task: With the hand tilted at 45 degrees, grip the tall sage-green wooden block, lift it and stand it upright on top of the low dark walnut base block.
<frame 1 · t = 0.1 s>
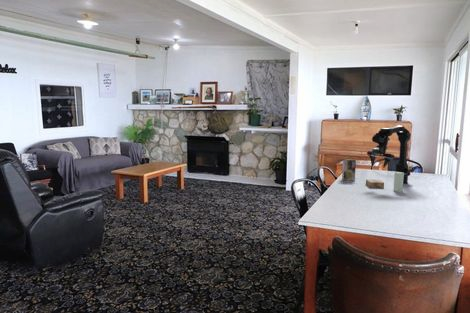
hand: (377, 166, 262), 15 cm above the table, tool pointing down, fingers open, 9 cm apart
sage block: (397, 191, 256), on the table
walnut base block: (374, 186, 270), on the table
coffee box: (348, 179, 292), on the table
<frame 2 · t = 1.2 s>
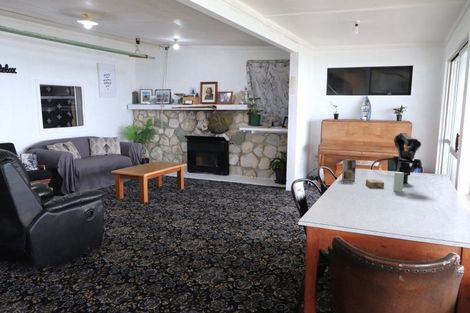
hand: (402, 170, 260), 13 cm above the table, tool tilted 45°, fingers open, 9 cm apart
nothing on the table moved.
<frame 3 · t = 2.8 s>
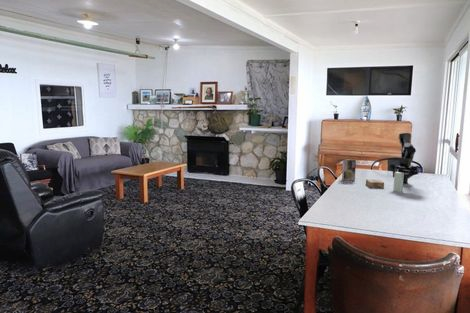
hand: (399, 178, 256), 9 cm above the table, tool tilted 45°, fingers open, 9 cm apart
nothing on the table moved.
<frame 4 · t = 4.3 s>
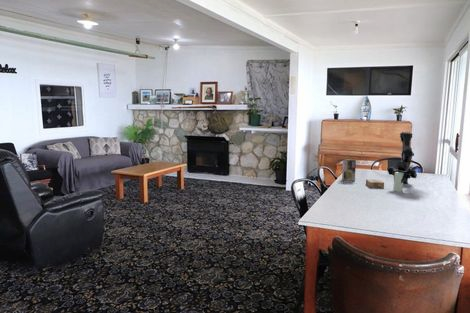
hand: (397, 182, 254), 7 cm above the table, tool tilted 45°, fingers closed on sage block, 4 cm apart
sage block: (397, 191, 256), on the table, touching gripper
everything else where it was.
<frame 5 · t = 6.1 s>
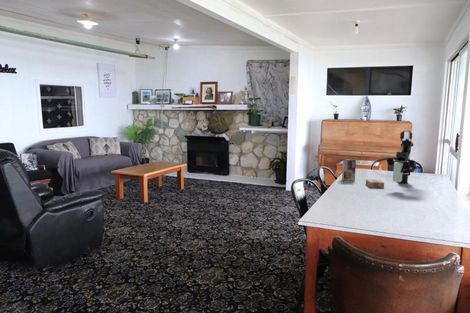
hand: (397, 172, 254), 13 cm above the table, tool tilted 45°, fingers closed on sage block, 4 cm apart
sage block: (397, 181, 256), point 7 cm above the table, touching gripper
everything else where it was.
when the fingers open (12 cm above the table, at t = 8.3 s): sage block drops 1 cm, resting on walnut base block.
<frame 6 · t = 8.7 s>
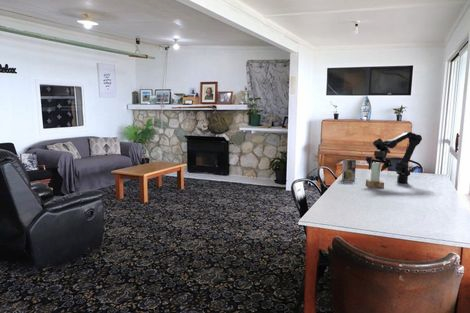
hand: (374, 170, 267), 12 cm above the table, tool tilted 45°, fingers open, 9 cm apart
sage block: (374, 180, 269), point 4 cm above the table, touching walnut base block
everything else where it was.
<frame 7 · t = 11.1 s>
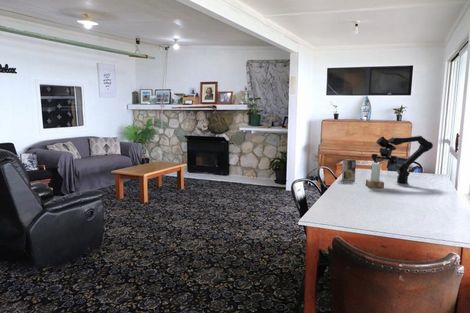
hand: (380, 167, 273), 13 cm above the table, tool tilted 45°, fingers open, 9 cm apart
nothing on the table moved.
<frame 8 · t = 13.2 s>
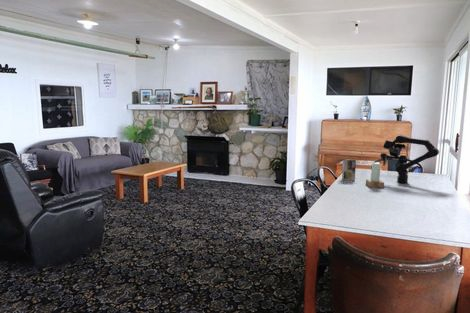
hand: (389, 166, 277), 14 cm above the table, tool tilted 45°, fingers open, 9 cm apart
nothing on the table moved.
at the end: sage block 0.0 cm off-centre on the walnut base block, point 4.0 cm above the walnut base block's base; sage block tilted 0°; the gripper is holding nothing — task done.
